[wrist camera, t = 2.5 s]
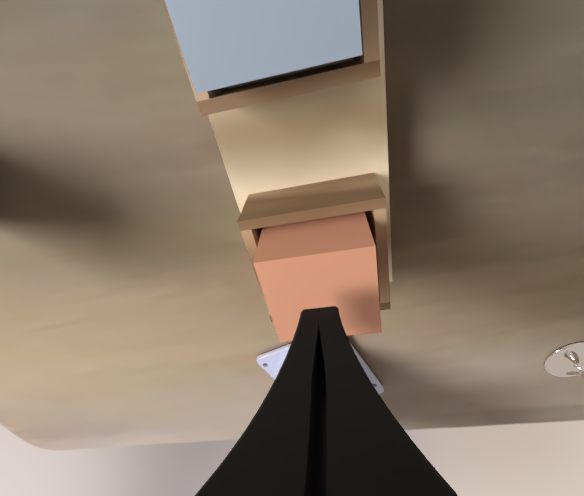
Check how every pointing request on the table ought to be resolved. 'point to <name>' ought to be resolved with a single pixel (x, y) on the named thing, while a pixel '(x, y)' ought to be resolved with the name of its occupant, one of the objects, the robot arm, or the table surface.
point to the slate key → (261, 37)
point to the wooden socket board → (310, 144)
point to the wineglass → (566, 361)
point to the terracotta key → (320, 272)
